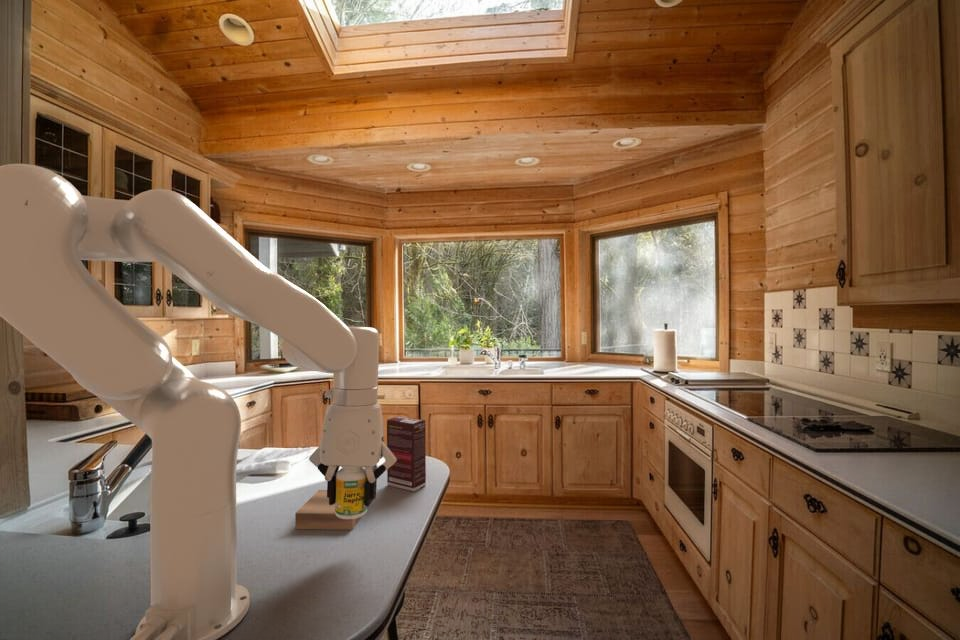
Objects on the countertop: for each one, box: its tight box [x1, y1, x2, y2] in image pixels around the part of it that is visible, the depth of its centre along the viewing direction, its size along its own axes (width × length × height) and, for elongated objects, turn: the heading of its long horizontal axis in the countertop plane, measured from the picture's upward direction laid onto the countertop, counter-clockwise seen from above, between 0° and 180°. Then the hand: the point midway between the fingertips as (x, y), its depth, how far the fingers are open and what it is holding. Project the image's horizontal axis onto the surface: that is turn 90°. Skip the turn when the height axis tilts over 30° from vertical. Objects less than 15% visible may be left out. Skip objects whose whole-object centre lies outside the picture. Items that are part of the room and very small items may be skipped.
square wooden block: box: [294, 489, 369, 531], centre depth 86 cm, size 11×11×3 cm
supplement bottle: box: [335, 467, 368, 519], centre depth 73 cm, size 5×5×10 cm
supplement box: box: [386, 415, 427, 492], centre depth 102 cm, size 9×5×16 cm, turn 59°
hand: (351, 501), depth 73 cm, fingers closed on supplement bottle, 5 cm apart
